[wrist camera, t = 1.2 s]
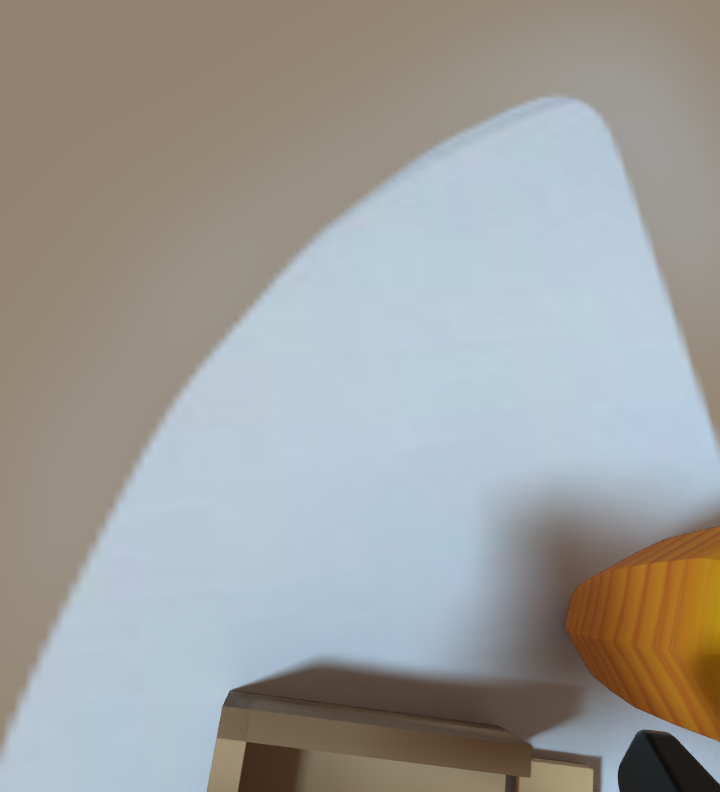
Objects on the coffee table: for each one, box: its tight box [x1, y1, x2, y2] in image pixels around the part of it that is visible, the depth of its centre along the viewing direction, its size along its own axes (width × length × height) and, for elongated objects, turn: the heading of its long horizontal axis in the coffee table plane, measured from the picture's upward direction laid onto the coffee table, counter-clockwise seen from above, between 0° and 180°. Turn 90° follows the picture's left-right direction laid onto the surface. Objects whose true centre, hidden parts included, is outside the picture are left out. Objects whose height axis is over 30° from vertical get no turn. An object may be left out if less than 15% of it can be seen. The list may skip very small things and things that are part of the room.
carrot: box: [565, 526, 720, 741], centre depth 15 cm, size 5×5×15 cm
